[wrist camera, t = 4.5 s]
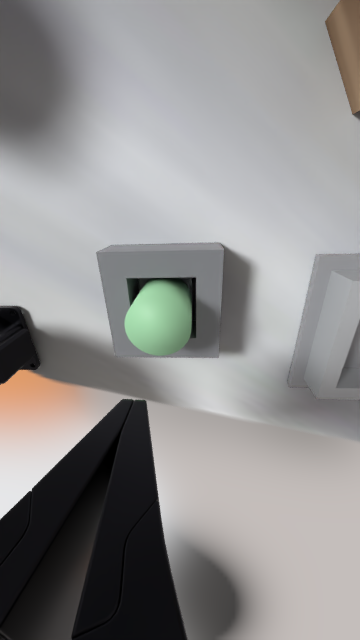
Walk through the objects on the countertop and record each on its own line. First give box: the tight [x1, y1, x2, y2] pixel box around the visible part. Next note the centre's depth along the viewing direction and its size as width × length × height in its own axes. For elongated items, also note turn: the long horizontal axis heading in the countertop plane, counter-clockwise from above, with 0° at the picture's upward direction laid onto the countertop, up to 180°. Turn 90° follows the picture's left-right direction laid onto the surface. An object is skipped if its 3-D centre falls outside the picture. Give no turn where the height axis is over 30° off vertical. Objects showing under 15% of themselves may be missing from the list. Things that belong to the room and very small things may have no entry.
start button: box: [125, 277, 192, 356], centre depth 16 cm, size 4×4×5 cm
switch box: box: [96, 243, 224, 358], centre depth 17 cm, size 8×8×3 cm
